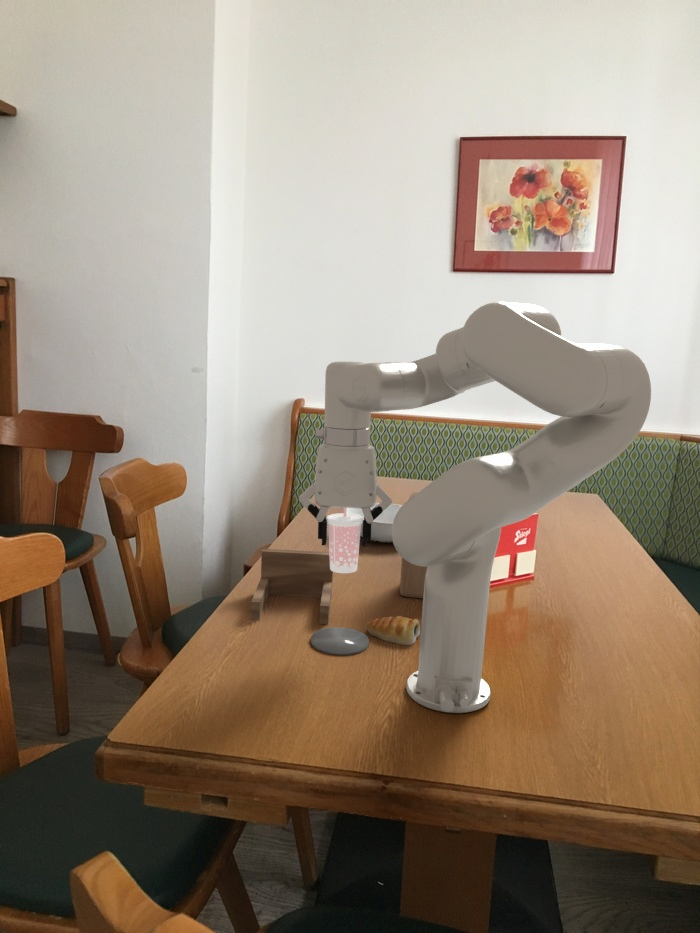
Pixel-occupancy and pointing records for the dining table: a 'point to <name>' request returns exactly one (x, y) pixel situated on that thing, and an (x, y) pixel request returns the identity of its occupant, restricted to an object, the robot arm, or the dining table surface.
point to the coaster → (339, 641)
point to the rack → (294, 578)
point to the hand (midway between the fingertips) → (344, 542)
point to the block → (412, 577)
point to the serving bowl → (380, 522)
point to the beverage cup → (344, 541)
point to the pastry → (395, 629)
